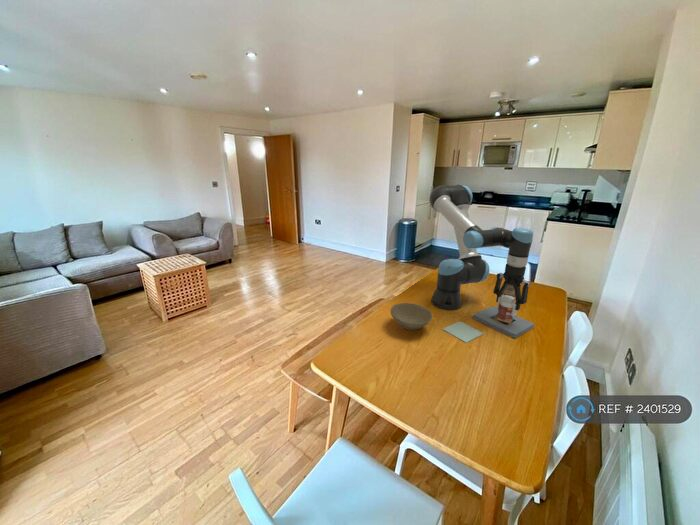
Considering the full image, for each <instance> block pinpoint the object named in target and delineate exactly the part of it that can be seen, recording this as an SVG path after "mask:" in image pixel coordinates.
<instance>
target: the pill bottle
mask: <svg viewBox="0 0 700 525" xmlns="http://www.w3.org/2000/svg"><path fill="white" fill-rule="evenodd" d="M502 296H503V300H502V301H501V302H500V306H499V311H498V316H497V318H496V319H497V320H499V321H501V322H503V323H512V322H511V321H512V320H513V317H512V316H511V314H512V310H513V305H514V303H515V302H516V298H515V296H508V295H505V294H504V295H502Z"/></svg>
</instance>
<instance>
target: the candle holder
mask: <svg viewBox="0 0 700 525" xmlns="http://www.w3.org/2000/svg"><path fill="white" fill-rule="evenodd" d="M503 295H504V296H505V295H508V296H512V297H515V290H514V287H513V286H512V285H510V284H509V285H508V286H507V288H506V290H505V291H504V293H503Z"/></svg>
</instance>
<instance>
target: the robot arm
mask: <svg viewBox="0 0 700 525" xmlns="http://www.w3.org/2000/svg"><path fill="white" fill-rule="evenodd" d="M428 200H429V204H430V207H431V208H432V209H433V210H434V211H435V212H437V213H440V215H442V217H444V219H446V221H448V222H449V223H450V224H451V225H452V226H453V231H454V234H455V238H456V243H457V248H458V253H459V257H458V259H457V258H448V259H444V260H442V261H440V263H438V264H439V265H438V269H437V280H436V287H435V290H434V292H433V294H432V295H431V296H432V297H431V303H433V304H434V305H433V304H432V305H433V306H435V307H437V308H439V309H443V310H446V311H452V310H453V311H455V310H458V309H459V310H460V308H461V307H462V305H463V301H462V300H463V299H462V297H461V286H462V285H468V284H477V283H481V282H484V281H486V279H487V278H488V276H489V274H490V265H489V263H488V262H487V261H486V260H485V259H482V255H481V254H480V253H478V250H477V249H481V248H487V247H488V248H490V247H503V248H506V249H508V254H507V258H506V264H505V267H504V273H502V272H498V273H497V274H496V280H495V281H496V282H495V286H494V288H493V294H494V295H496V299H495V301H496V303H497V304H496V308H497V309H496V310H499V306H500V302H501V301H502V300H503V296H504V294H503V293H504V291H505V290H506V288H507V286H508V285H509V284H510V285H512V286H513V287H514V290H515V296H514V298H515V301H514V305H513V310H512V314H511V316H512V317H513V316H517V312H518V311H519V310H520V309H521V307H522V306H521V305H525V304H526V303H527V301H528V293H529V288H530V286H531V284H532V282H530V281H527V280H526V279H525V275H526V274H525V273H526V270H527V269H526V268H527V267H526V266H527V265H528V261H529V256H530V255H529V254H530V250H531V247H532V243H533V238H534V231H533V230H532V229H529V228H524V227H514V228H513V229H512V230H510V229H506V228H502V227H498V226H493V227H491V228H490V229H482V228H481V227H480V226H478V225H477V224H476V223H475V221H473V220H472V219H471V218H470V214H469V211H468V210H469V209H470V207H471V204H472V201H473V192H472V189H470V187H469V186H467V185H462V184H455V185H454V184H453V185H451V184H450V185H447V184H443V185H439V186H436V187H435V188H434V189H433V190H432V191H431V193H430V194H429V199H428ZM503 278H504V282H503ZM502 282H503V284H502ZM521 284H522V285H521ZM521 286H522V290H521Z"/></svg>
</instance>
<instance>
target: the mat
mask: <svg viewBox="0 0 700 525" xmlns="http://www.w3.org/2000/svg"><path fill="white" fill-rule="evenodd" d="M442 330H443V331H444V332H446V333H447V334H450V335H451V336H453V337H454V338H456V339H458V340H460V341H462V342H463V343H464V344H467V343H469V342H471V341H473V340H475V339H477V338H479V337H481V336H483V335H484V332H481V331H480V330H478V329H476V328H473V327H472V326H470V325H468V324H466V323H464V322H463V321H457V322H455V323H452V324H450V325H449V326H446V327H444V328H442Z"/></svg>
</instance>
